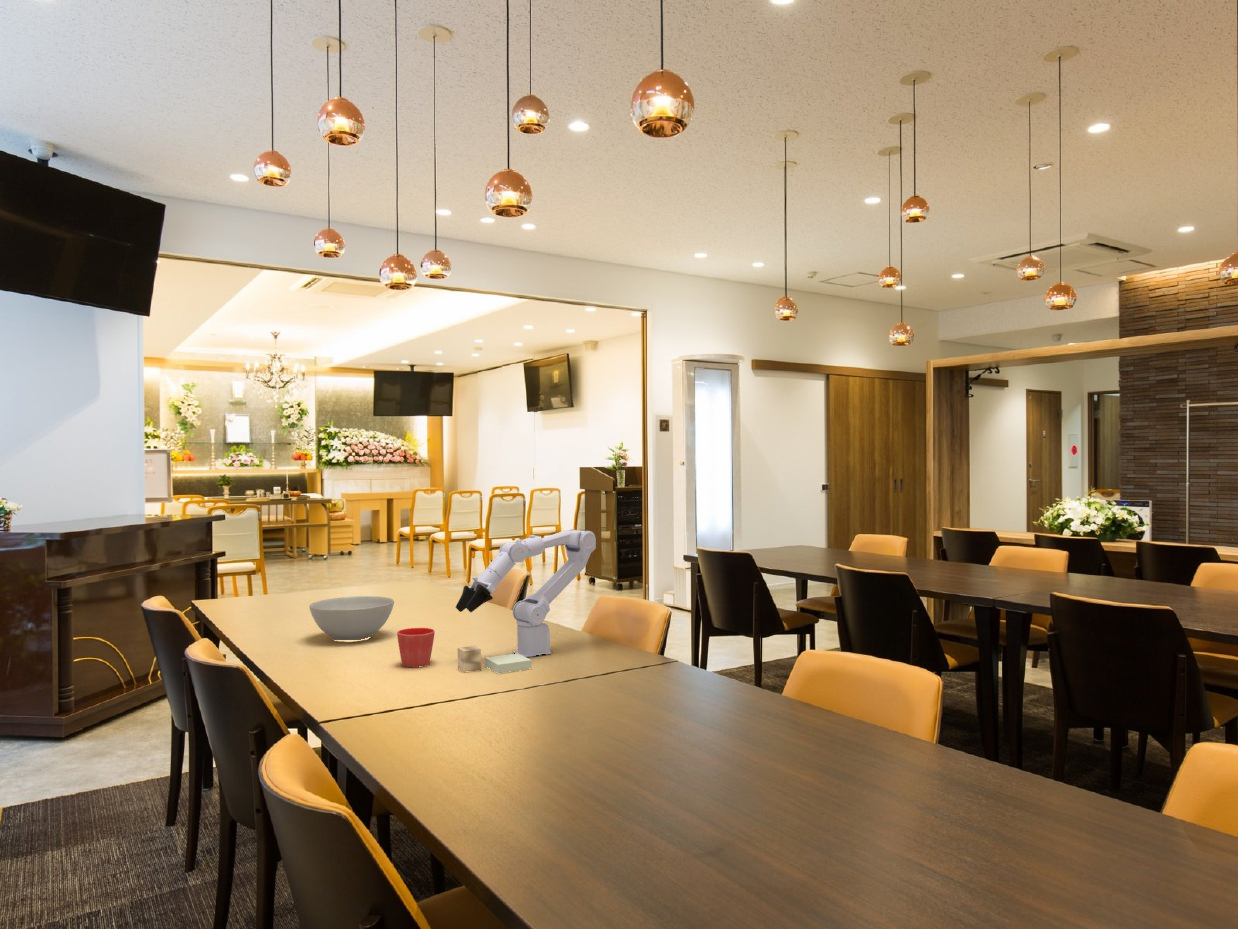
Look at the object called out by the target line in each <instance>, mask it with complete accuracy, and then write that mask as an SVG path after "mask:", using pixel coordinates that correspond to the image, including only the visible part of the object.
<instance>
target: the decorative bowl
mask: <svg viewBox="0 0 1238 929" xmlns="http://www.w3.org/2000/svg"><path fill="white" fill-rule="evenodd" d="M394 604H395V600H394V599H393V598H390V597H386V596H374V595H371V596H368V595H365V596H361V595H360V596H359V595H357V596H344V597H342V596H341V597H334V598H327V599H322V600H318V601H317V600H316V601H314V602H312V603H310V604H309V612H310V613H311V616H312V618H313V620H314V622H315V624H316V625H317V627H318V628H319V629H320V630H321V631H322V632H324V634H326V635H327V636H330V637H331V638H332V640H333V639H334V640H361V639H365V638H368V637H372V638H373V635H375V633H377V632H378V631H380V630H381V629H382V627H383V626H384V625H385V624H386V622H387V621H388V620H389V618H390V615H391V613H392V611H393V609H394V608H393V607H394Z"/></svg>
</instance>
